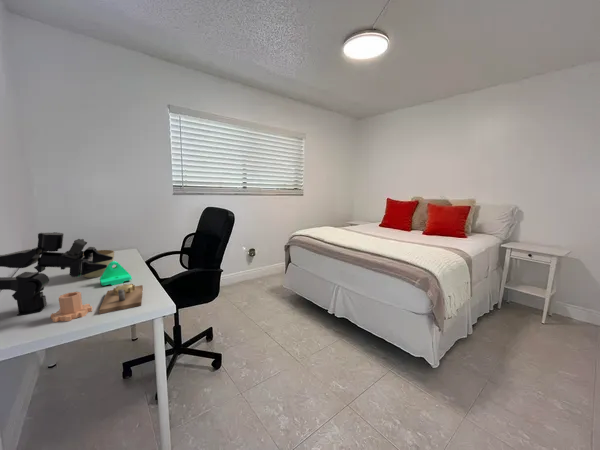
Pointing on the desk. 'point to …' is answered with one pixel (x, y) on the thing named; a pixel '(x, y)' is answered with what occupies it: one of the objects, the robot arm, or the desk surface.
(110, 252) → the tan bowl
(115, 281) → the camera mount
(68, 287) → the desk surface
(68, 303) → the gear
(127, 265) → the desk surface
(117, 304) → the carrier
